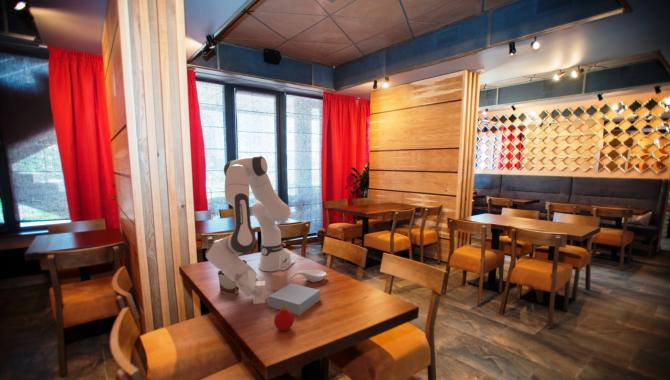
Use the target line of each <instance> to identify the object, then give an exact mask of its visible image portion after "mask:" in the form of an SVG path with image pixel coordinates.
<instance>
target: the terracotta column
mask: <svg viewBox="0 0 670 380" xmlns="http://www.w3.org/2000/svg"><path fill="white" fill-rule="evenodd" d="M271 275H272V276H271V278H272V279H271V290H272V291H274V292H277V291H278V290H280V289H282V288H284V287H285V286H287V277H288V272H285V271H282V270H281V271H275V272H274V273H272V274H271Z"/></svg>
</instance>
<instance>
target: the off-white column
mask: <svg viewBox="0 0 670 380" xmlns="http://www.w3.org/2000/svg"><path fill="white" fill-rule="evenodd" d="M255 289H256V290H257V291H260V292H261V296H260V297H257V296H256V295H253V294H252V299H253V300H252V301H253V302H252V304H253V305H256V304H257V305H258V304H265V303H266V280H259V281H256V282H255Z"/></svg>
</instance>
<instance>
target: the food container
mask: <svg viewBox="0 0 670 380" xmlns="http://www.w3.org/2000/svg"><path fill="white" fill-rule="evenodd" d="M217 276H218V284H219V292H220V293H223V294H227V295H231V296H237V295H239V292H240V291H239V290H240V289H239V288H238V287H237V286H236V281H234V282H233V281H231V280H230V279H229V278H228V277H227V276H226V275H224V273H223V272H222V271H221V270H220V269H219V270H218V271H217Z"/></svg>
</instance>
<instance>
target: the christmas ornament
mask: <svg viewBox="0 0 670 380" xmlns="http://www.w3.org/2000/svg"><path fill="white" fill-rule="evenodd" d="M294 318H295V317H294V314H292V313H291V312H290V311H288V310H287V306H285V305H284V303H283V306H281V310H278V312H277V313H276V314H275V316H274V320H273V323H274V324H273V325H274V326H275V328H276V329H278V330H279V331H281V332H285V331H288V330H290V329H291V328H292V326H293V324H294V322H295V321H294Z"/></svg>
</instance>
